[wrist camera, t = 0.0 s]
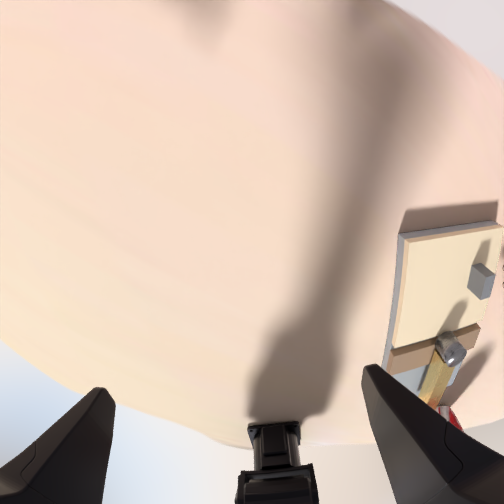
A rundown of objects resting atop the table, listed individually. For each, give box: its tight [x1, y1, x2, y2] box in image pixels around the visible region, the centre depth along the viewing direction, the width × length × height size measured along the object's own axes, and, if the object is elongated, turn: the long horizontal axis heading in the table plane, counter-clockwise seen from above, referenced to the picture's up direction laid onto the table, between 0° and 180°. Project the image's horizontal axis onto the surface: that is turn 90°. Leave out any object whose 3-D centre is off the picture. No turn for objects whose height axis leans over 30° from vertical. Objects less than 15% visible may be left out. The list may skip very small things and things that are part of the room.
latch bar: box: [418, 331, 467, 410], centre depth 25 cm, size 12×2×3 cm, turn 8°
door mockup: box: [381, 220, 504, 396], centre depth 25 cm, size 23×12×4 cm, turn 8°
